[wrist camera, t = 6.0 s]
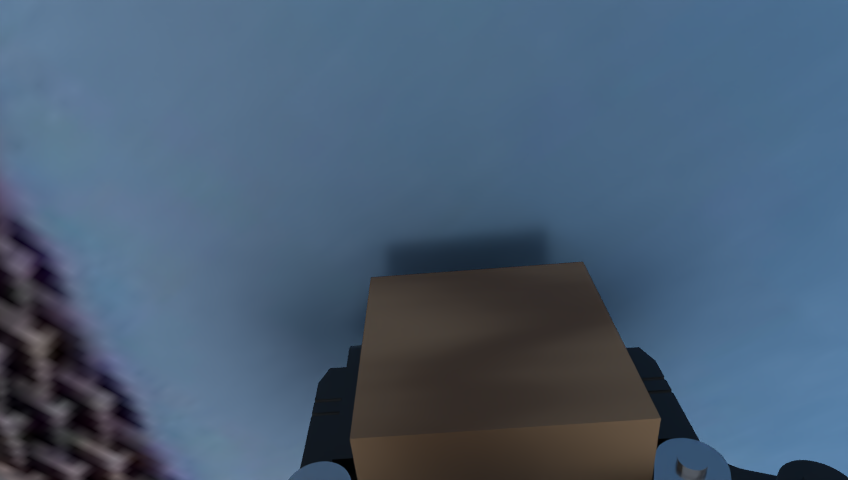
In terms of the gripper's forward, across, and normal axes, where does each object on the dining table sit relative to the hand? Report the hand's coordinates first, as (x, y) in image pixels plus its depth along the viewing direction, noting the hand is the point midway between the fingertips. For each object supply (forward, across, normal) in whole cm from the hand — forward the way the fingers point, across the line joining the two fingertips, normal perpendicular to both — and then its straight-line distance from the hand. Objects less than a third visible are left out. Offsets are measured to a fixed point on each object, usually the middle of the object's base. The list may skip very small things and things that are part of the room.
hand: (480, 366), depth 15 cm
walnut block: (0, 0, 0) cm, 0 cm away
